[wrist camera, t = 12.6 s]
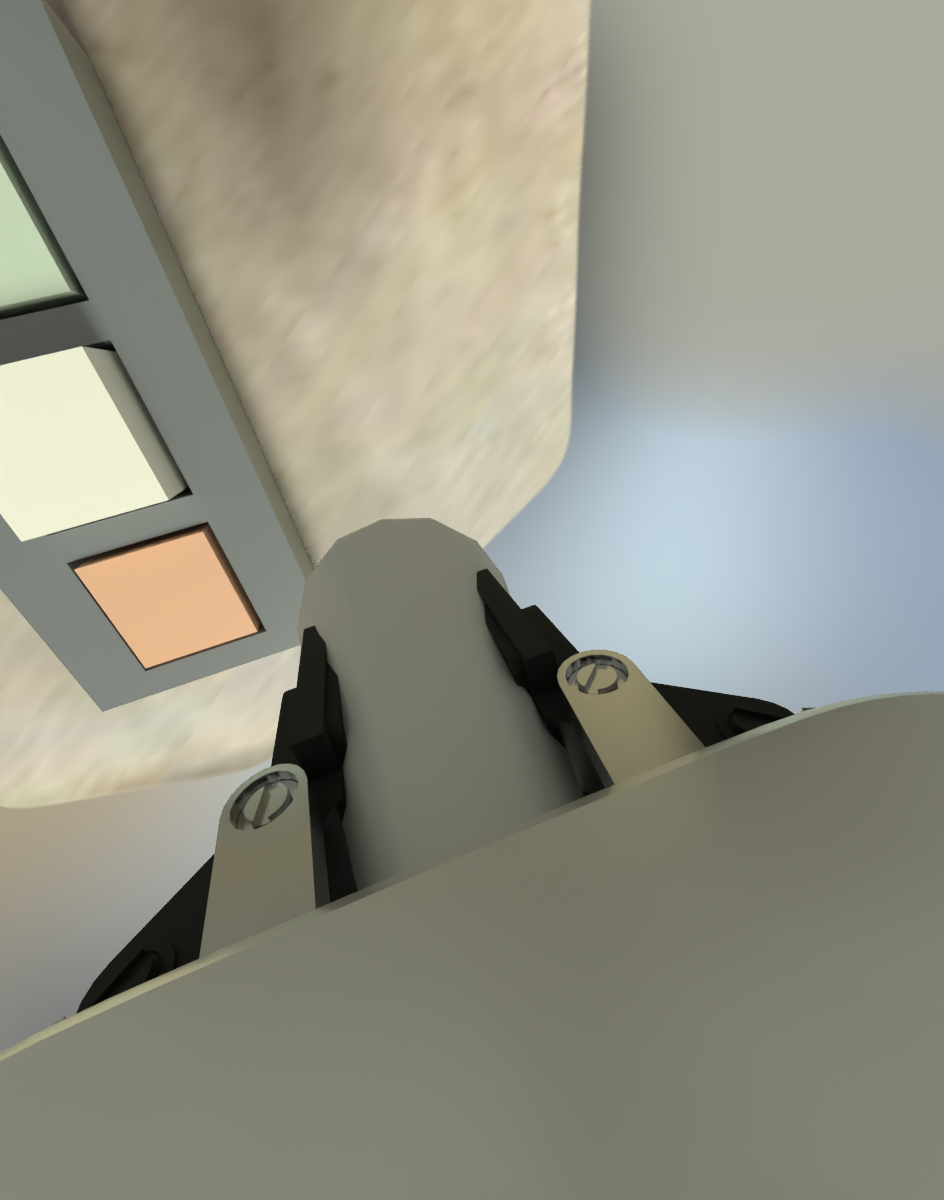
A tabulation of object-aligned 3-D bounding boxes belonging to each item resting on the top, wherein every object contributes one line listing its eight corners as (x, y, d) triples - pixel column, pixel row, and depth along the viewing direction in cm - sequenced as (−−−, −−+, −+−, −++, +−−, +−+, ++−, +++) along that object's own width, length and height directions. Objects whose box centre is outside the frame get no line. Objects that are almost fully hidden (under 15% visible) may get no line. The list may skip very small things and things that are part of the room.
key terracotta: (109, 544, 23) (74, 569, 20) (219, 512, 24) (202, 531, 21) (168, 634, 26) (145, 668, 23) (266, 602, 27) (257, 631, 23)
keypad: (-288, 116, 15) (-451, 45, 12) (89, 58, 17) (32, -17, 14) (129, 672, 26) (102, 711, 23) (330, 606, 28) (330, 634, 25)
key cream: (-22, 387, 18) (-96, 387, 15) (123, 352, 19) (81, 346, 16) (68, 518, 21) (21, 541, 18) (193, 483, 22) (168, 500, 18)
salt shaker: (382, 456, 13) (710, 957, 2) (515, 567, 16) (987, 1047, 4) (264, 607, 14) (-36, 1587, 3) (409, 688, 17) (571, 1340, 5)
